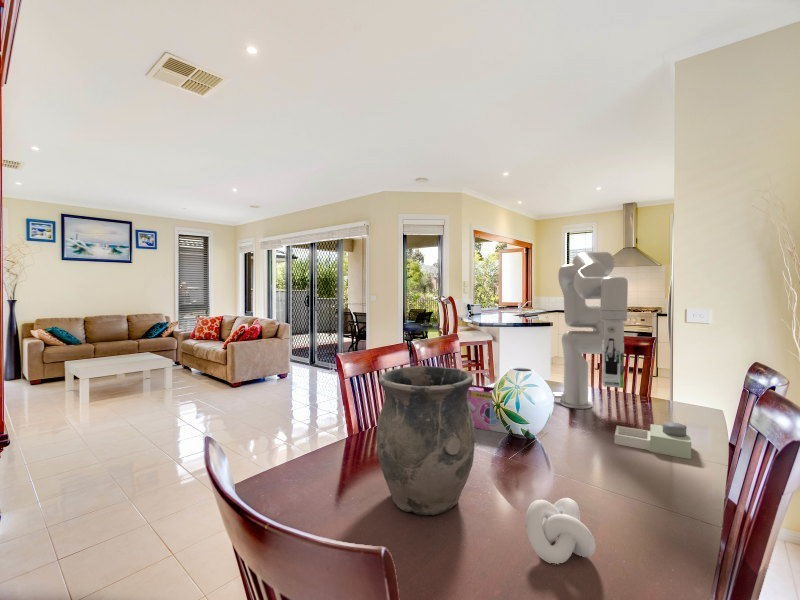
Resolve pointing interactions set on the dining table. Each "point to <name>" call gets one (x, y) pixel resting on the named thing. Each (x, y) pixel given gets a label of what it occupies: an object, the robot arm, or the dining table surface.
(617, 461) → the dining table surface
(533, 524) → the white knot sculpture
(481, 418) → the pink product box
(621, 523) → the dining table surface
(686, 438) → the knob block with frame
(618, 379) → the syrup box
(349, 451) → the dining table surface
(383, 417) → the clay pot
